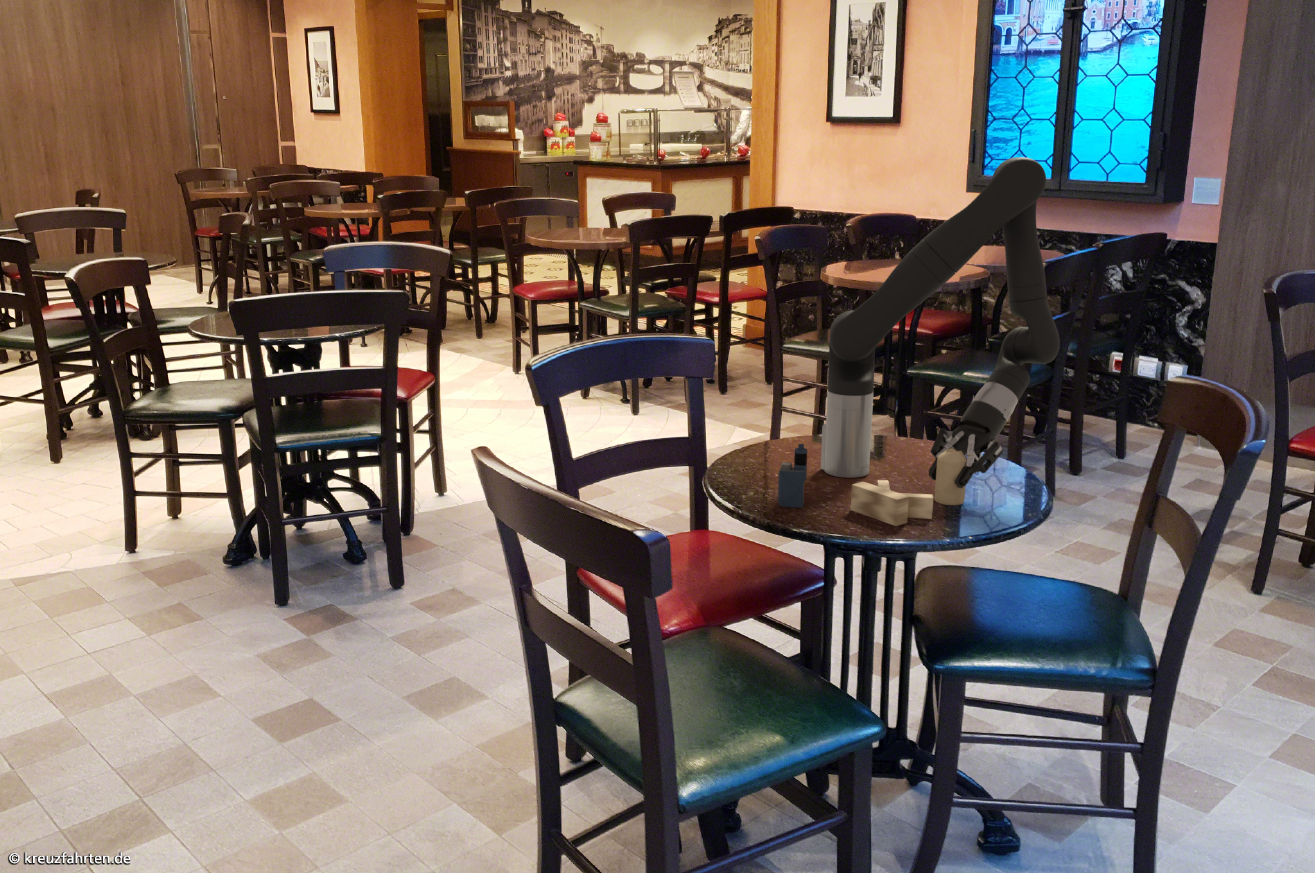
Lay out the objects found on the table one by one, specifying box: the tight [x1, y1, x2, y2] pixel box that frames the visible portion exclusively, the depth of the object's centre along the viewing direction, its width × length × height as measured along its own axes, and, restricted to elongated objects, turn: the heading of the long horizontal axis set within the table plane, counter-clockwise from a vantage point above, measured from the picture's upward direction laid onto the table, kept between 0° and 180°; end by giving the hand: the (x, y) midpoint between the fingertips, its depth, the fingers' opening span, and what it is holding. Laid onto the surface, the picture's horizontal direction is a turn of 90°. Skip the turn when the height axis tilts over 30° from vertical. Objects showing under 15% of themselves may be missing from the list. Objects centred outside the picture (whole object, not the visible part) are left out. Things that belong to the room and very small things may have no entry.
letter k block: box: [850, 479, 934, 527], centre depth 201 cm, size 13×10×5 cm
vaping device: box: [777, 443, 808, 509], centre depth 204 cm, size 3×5×12 cm, turn 78°
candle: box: [934, 448, 967, 506], centre depth 207 cm, size 6×6×10 cm
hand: (944, 481), depth 206 cm, fingers closed on candle, 5 cm apart
